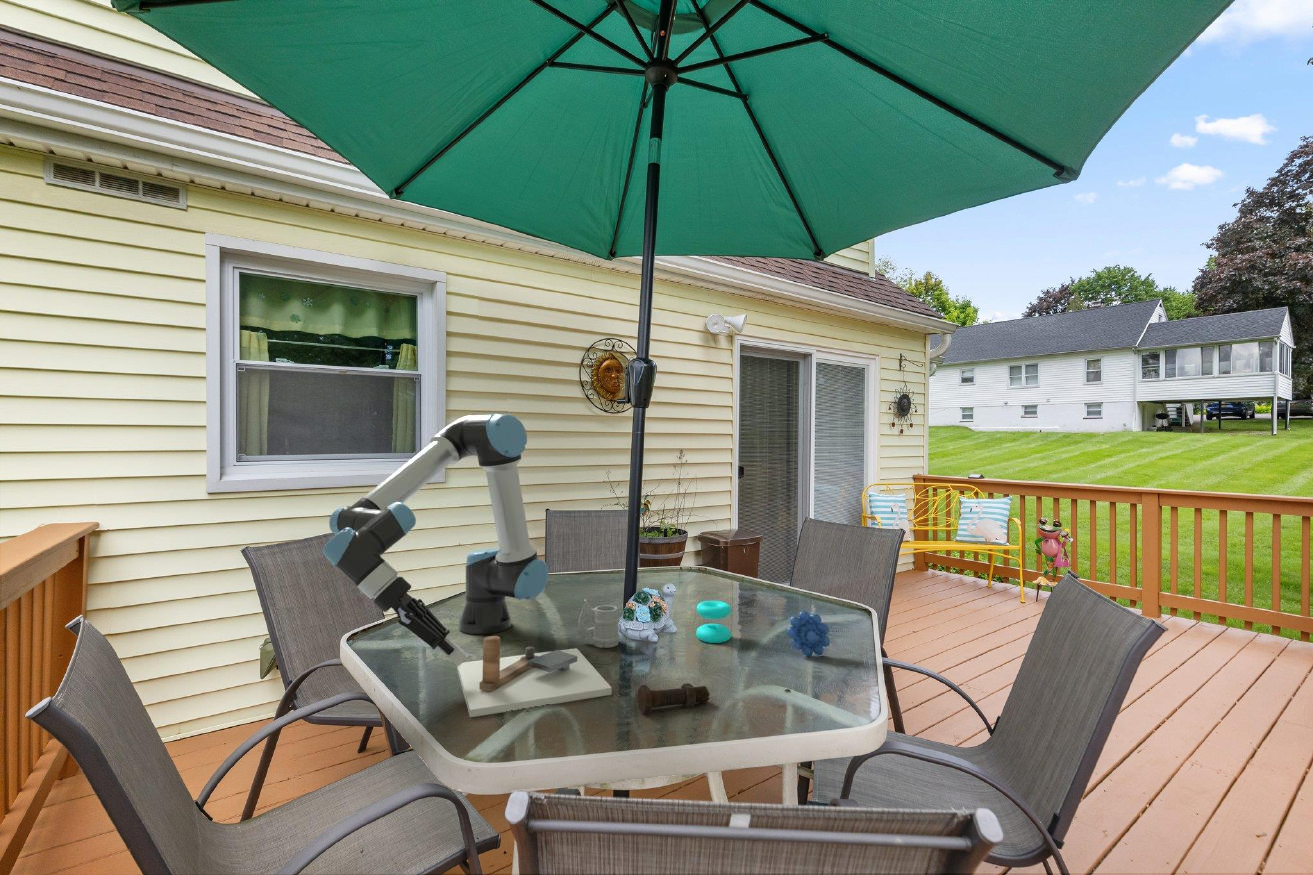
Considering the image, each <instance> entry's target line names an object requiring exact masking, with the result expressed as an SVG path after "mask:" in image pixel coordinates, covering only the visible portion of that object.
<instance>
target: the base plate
mask: <svg viewBox="0 0 1313 875" xmlns="http://www.w3.org/2000/svg"><path fill="white" fill-rule="evenodd" d="M558 651H561V652H565V653H568V654H571V655H575V656H577V662H574V663H572V664H570V669H568V670H565V671H561V670H558V669H557V670H554V671H552V672H546V671H543V670H540V669H537V668H534V667H531V668H529V669H528V670H526V671H524V672H523V673H521V674H519V675H518V676H516V677H514V678H513V679H511V680H509V681H508V682H506V683H504V684H503V685H501V686H499V687H498V688H496V689H494V690H493V691H491V692H490V691H485V690H480V689H479V684H480V682H481V681H482V679H483V659H480V660H471V661H464V662H463V663H462V664H461V665H460V666H459V667H458V666H457V665H456V671H457V674H458V677H459V682H460V685H461V690H462V694H463V697H464V701H465V704H466V708H467V712H468V715H469V716H468V717H469V718H474V717H481V716H488V715H493V714H499V713H500V714H501V713H505V712H506V711H507V712H512V711H511V710H513V711H517V710H518V709H519V710H523V709H522V708H525V709H530V708H529V707H532V708H535V707H534V706H538V707H543V706H542V705H544V706H546V705H545V704H550V705H554V704H556V705H557V704H562V703H563V704H564V703H570V702H574V701H580V700H586V699H593V698H598V697H599V698H600V697H604V696H605V697H606V696H611V695H612V694H613V692H612V686H611V685H610V684H609V683H608V681H606V679H604V677H603V676H602V675H601V674H600V673H599V671H597V669H595V667H594V666H593V665H592V664H591V662H589V661H588V659H587V658H586V657H585V656H584V655H583V653H581V651H580V650H579V649H578V648H576V647H575V648H569V649H561V650H558ZM550 652H552V651H544V652H543V651H542V652H534V655H536V656H541V655H544V654H547V653H550ZM523 656H526V654H520V655H511V656H506V657H504V656H503V657H500V671H501V670H503V669H504V668H506V667H508V666H510V665H511V664H513V663H515V662H517V661H519V660H520V658H521V657H523ZM519 710H518V711H519Z"/></svg>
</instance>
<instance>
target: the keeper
mask: <svg viewBox="0 0 1313 875" xmlns="http://www.w3.org/2000/svg"><path fill="white" fill-rule="evenodd" d="M549 652H550V653H547V654H544V655H541V656H539V657H536V658H533V659H530V660H528V666H531V667H534V668H537V669H540V670H543V671H546V672H552V671H554V670H557V669H558V670H561V671H565V670H568V669H570V664H572V663H574V662H577V656H575V655H571V654H568V653H565V652H561V651H559V650H558V649H555V650H553V651H552V652H551V651H549Z"/></svg>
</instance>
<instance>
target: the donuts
mask: <svg viewBox="0 0 1313 875" xmlns="http://www.w3.org/2000/svg"><path fill="white" fill-rule="evenodd" d="M731 612H732V607H731V605H730V604H729V603H727V602H724V601H720V600H705V601H704V600H703V601H701V602H699V603H698V604H697V606H696V613H698V615H699V616H700V617H701V618H705V619H709V620H722V619H725V618H727V617H728V616H730V614H731ZM695 632H696V633H695V634H696V637H697V639H699V640H700V641H702V642H704V643H710V644H722V642H723V643H726V642H728V641H729V640H730V639H731V637H732V632H731V630H730V628H728V627H727V626H725V625H723V624H719V623H705V624H703V625H700V626H699V627H698V628H697V629H696V631H695Z"/></svg>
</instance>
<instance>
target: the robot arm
mask: <svg viewBox="0 0 1313 875" xmlns="http://www.w3.org/2000/svg"><path fill="white" fill-rule="evenodd" d="M527 435H528V434H527V430H526V428H525V426H524V424H523V422H522V421H521V420H520V419H518V418H517V417H516V416H515V415H511V414H506V413H505V414H504V413H500V412H499V413H485V414H484V413H483V414H482V413H481V414H469V415H464V416H462V417H460V418H458V419H456V420H455V421H452V423H450V424H448V425H447V426H445V427H444V428H441V430H440V431H439V432H437V433H436V434H434V435H433V436H432V437H431V438H430V441H429V444H428V445H427V446H426V447H424V448H423V449H422V450H420V451H418V453H417V454H415V455H414V456H413V457H411V458H410V459H409V460H408V461H406V462H405V463H404V464H403V465H401V466H400V467H399V468H397V470H395V471H394V472H393V473H392V474H390V475H389V476H388V477H386V478H385V479H384V480H383V481H381V482H380V483H379V484H378V485H377V486H375V487H374V488H372V489H371V490H370V491H369V492H368V493H366V494H365V495H363V497H361V498H360V499H359V500H358V501H356V502H354V504H352V505H351V506H350V505H349V506H341V507H339V508H337V509H336V510H334V511H333V512H332V514H331V515H330V517H329V523H328V525H329V529H330V531H331V533H333V536H332V537H331V538H330V539H329V540H328V541H327V542H326V543H325V544H324V545H323V548H322V554H323V556H325V558H326V559H327V560H328V561H329V562H330V564H331V565H332V566H333V567H334V568H336V569H337V570H338V571H339V572H340V573H341V574H342V575H344V576H345V577H346V578H347V579H348V580H349V581H350V582H351V583H352V584H353V585H355V586H356V587H357V588H358V589H359V593H360V594H362V595H363V594H365V595H366V597H368V599H370V600H371V599H374V600H373V603H374V605H375V606H377V608H378V609H380V610H381V611H382V612H383V613H386V612H388V611H389V610H390V609H392V610H393V612H395V614H396V615H397V617H398V618H399V619H398V620H397V623H398V624H399V625H401V626H402V627H405V628H406V629H408V630H409V631H410V632H411V633H413V634H414V635H415V636H417V637H418V638H419V639H420V640H422V641H423V642H424V643H426V644H427V645H428V646H430V647H431V649H433V650H435V649H437V648H438V649H439V650H440V651H441V652H442V653H444V654H445V656H447V657H448V659H449V660H451V661H452V662H453V663H454V664H455V665H456V667H457V666H458V667H459V666H460V665H461V664H462V663H463V662H466V660H467V659H468V657H469V654H468V653H467V652H466V651H465V650H464V649H463V648H462V647H461V646H459V645H458V643H456V642H455V641H454V640H453V639H452V638H451V637H450V636H449V634H450V632H451V631H450V630H449V629H448V630H447V628H446V627H445V626H444V625H443V624H442V622H441V621H440V620H439V619H438V618H437V617H436V615H434V614H433V612H432V611H431V610H430V609H429V608H428V606H426V604H425V602H424V601H423V600H422V599H420V598H418V599H417V598H415V597H413V596H412V595H410V594H408V592H410V591H411V589H412V585H411V583H409V582H408V581H407V580H406V578H404V577H403V576H398V574H399V572H398V571H397V570H396V569H395V568H394V567H392V565H390V564H389V563H388V562H387V561H386V560H385V559H384V558H383V557H382V555H384V554H385V552H386V551H388V550H389V549H390V548H391V547H393V546H394V545H395V544H396V543H398V542H399V541H400V540H401V539H403V538H404V537H405V536H407V535H408V533H409V532H410V531H411V530H412V529H413V528H414V527H415V525H416V523H417V518H416V516H415V514H414V512H413V511H412V509H411V507H409V506H407V505H406V504H405V502H406V501H408V500H410V498H411V497H413V496H414V495H415V494H416V493H417V492H418V491H419V490H421V489H422V488H423V487H424V486H426V484H428V483H429V482H430V481H432V479H433V478H435V477H436V476H437V475H438V474H440V473H441V471H443V470H444V469H445V468H446V467H448V466H449V465H456V464H458V462H459V461H460V460H462V459H465V458H467V457H470V456H471V457H472V456H477V462H478V466H479V467H480V468H481V469H483V470H484V471H485V473H486V479H487V485H488V490H489V495H490V496H489V498H490V501H491V502H490V503H491V508H492V514H493V518H494V524H495V531H496V537H497V542H498V547H499V548H491V549H482V550H476V551H471V552H470V553H468V555H467V556H466V562H465V563H466V565H465V603H464V605H463V609H462V610H461V611H462V613H461V615H460V617H459V622H458V629H459V630H460V632H462V633H466V634H471V635H485V634H486V635H487V634H493V633H494V634H495V633H499V632H503V631H506V630H508V629H509V628H510V627H511V626H512V616H511V613H510V609H509V607H508V603H507V598H514V599H516V600H519V601H520V600H521V601H522V600H525V601H530V600H533V599H536V598H537V597H538V596H540V595H541V593H542V592H543V591H544V589H545V587H546V585H547V583H548V579H549V567H548V565H547V563H546V562H545V561H544V560H542V559H540V558H539V556H538V552H537V548H536V547H535V546H534V545H532V544H531V543H530V542H531V541H530V536H529V529H528V524H527V518H526V517H527V516H526V513H525V506H524V498H523V494H522V487H521V481H520V475H519V470H518V469H519V468H518V464H520V462H521V461H522V454H523V453H524V451H525V449H526V445H527V443H528V436H527ZM506 597H507V598H506Z"/></svg>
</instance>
